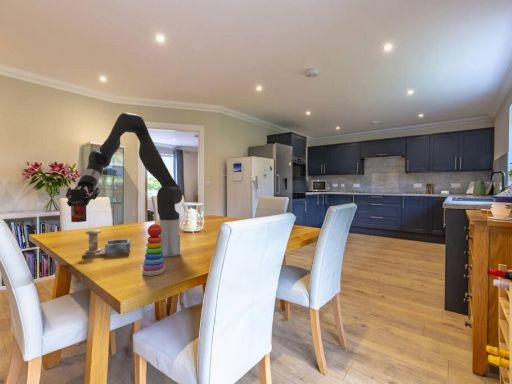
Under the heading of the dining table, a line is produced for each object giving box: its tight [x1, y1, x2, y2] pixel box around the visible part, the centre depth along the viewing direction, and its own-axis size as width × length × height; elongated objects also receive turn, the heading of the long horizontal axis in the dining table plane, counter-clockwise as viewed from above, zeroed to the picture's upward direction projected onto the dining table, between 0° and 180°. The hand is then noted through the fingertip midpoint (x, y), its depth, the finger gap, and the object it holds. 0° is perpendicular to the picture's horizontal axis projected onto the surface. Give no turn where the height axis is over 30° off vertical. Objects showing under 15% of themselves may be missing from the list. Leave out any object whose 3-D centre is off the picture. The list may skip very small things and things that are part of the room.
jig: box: [81, 229, 131, 260], centre depth 124 cm, size 19×11×12 cm, turn 114°
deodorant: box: [70, 189, 88, 223], centre depth 120 cm, size 6×6×15 cm
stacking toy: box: [141, 223, 165, 277], centre depth 98 cm, size 8×8×19 cm
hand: (76, 205), depth 119 cm, fingers closed on deodorant, 6 cm apart
